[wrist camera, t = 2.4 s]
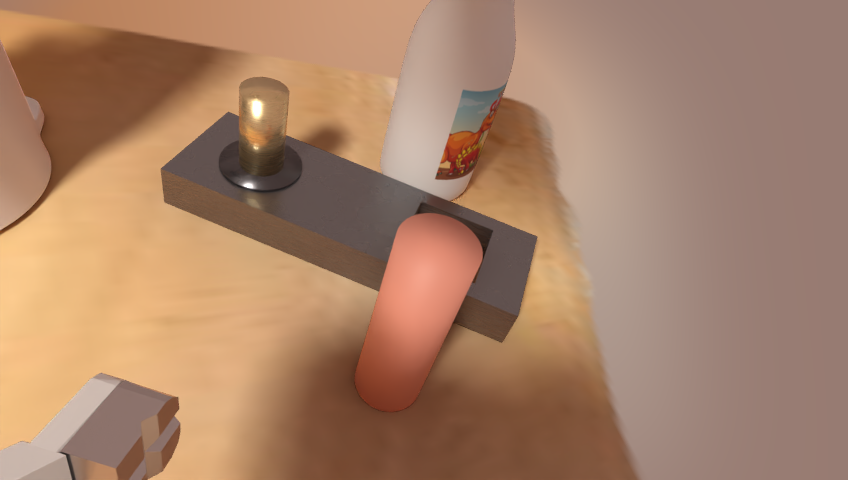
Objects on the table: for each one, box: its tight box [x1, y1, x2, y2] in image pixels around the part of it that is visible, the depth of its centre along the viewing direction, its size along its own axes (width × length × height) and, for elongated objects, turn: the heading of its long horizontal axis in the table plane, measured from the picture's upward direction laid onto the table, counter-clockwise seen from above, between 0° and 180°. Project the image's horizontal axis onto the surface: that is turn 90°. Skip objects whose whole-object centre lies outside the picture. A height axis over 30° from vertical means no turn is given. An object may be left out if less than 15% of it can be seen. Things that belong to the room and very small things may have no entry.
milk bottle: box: [380, 0, 516, 201], centre depth 40 cm, size 8×8×20 cm
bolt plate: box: [161, 77, 537, 342], centre depth 37 cm, size 25×8×9 cm, turn 72°
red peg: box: [355, 213, 483, 412], centre depth 29 cm, size 4×4×12 cm
